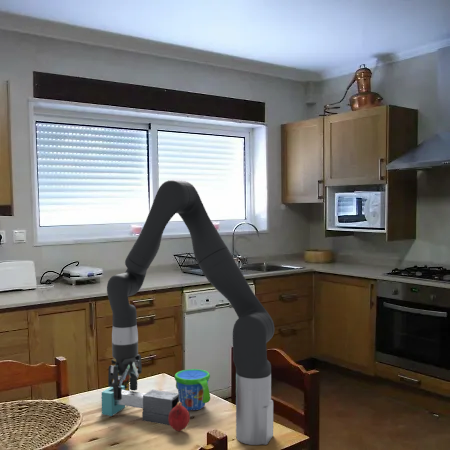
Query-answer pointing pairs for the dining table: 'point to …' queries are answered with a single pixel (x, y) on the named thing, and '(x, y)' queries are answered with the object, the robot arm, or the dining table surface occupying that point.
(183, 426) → the onion
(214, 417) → the dining table surface
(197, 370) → the snack cup
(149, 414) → the sleeve
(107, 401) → the socket
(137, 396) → the slip tube
